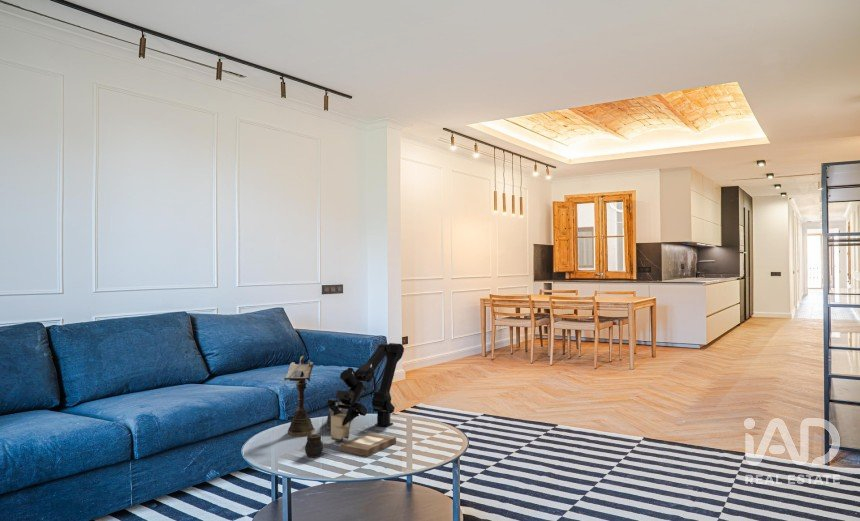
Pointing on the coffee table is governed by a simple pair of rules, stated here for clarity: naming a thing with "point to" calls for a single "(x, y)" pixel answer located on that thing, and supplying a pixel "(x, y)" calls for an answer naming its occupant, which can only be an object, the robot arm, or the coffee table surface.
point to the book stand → (300, 398)
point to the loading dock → (368, 444)
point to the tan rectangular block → (339, 427)
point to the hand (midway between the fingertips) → (338, 424)
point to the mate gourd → (313, 445)
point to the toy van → (330, 413)
